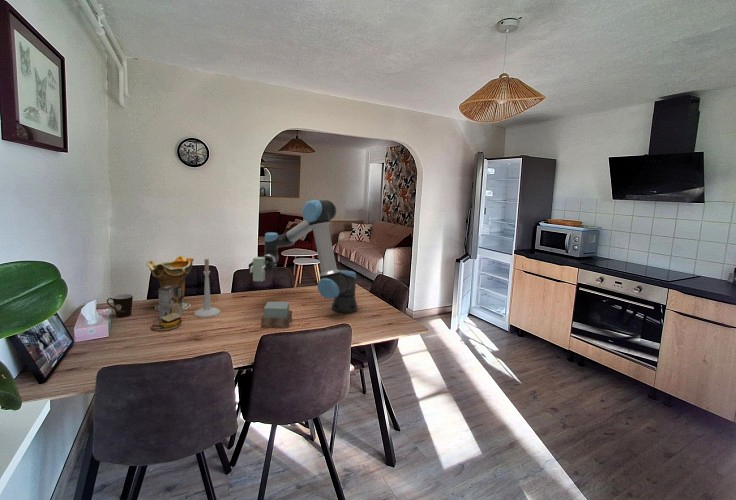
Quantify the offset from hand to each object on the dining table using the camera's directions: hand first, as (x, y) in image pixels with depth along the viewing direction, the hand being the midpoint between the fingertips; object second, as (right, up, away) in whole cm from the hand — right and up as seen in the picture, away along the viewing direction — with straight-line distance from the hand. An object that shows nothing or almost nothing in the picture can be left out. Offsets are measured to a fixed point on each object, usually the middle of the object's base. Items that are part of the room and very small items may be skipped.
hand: (256, 270), depth 184 cm
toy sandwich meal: (-40, -27, -12) cm, 49 cm away
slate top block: (+11, -23, -1) cm, 25 cm away
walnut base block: (+10, -27, 0) cm, 29 cm away
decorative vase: (-51, -21, +16) cm, 58 cm away
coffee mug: (-68, -23, -1) cm, 72 cm away
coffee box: (-43, -24, -1) cm, 50 cm away
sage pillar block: (-1, -6, +6) cm, 8 cm away
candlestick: (-29, -24, +8) cm, 38 cm away
